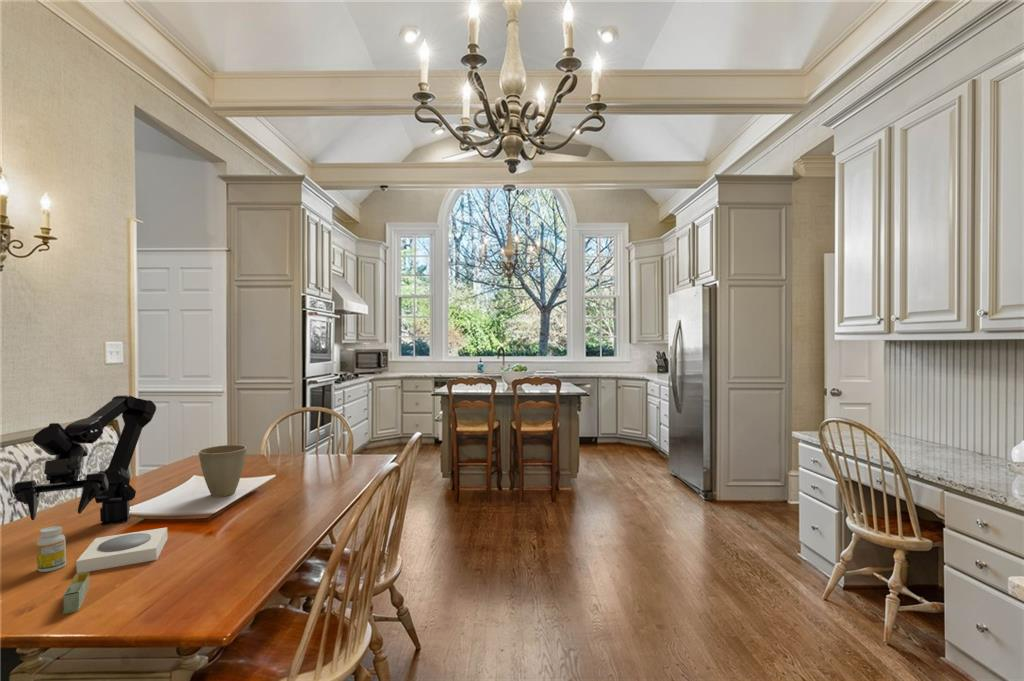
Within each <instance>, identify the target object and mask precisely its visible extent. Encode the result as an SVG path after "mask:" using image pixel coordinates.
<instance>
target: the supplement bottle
mask: <svg viewBox="0 0 1024 681" xmlns="http://www.w3.org/2000/svg"><path fill="white" fill-rule="evenodd" d="M62 529H63V528H62V526H61V525H53V526H48V527H44V528H42V529H40V530H39V536H40V538H39V539H38V540H37V541H36V559H37V560H36V561H37V571H39V572H40V573H46V572H52V571H56V570H59V569H61V568H63V567H64V566H66V565H67V551H66V550H67V547H66V536H65V535H64V534H63V533H62V531H63V530H62Z"/></svg>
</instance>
